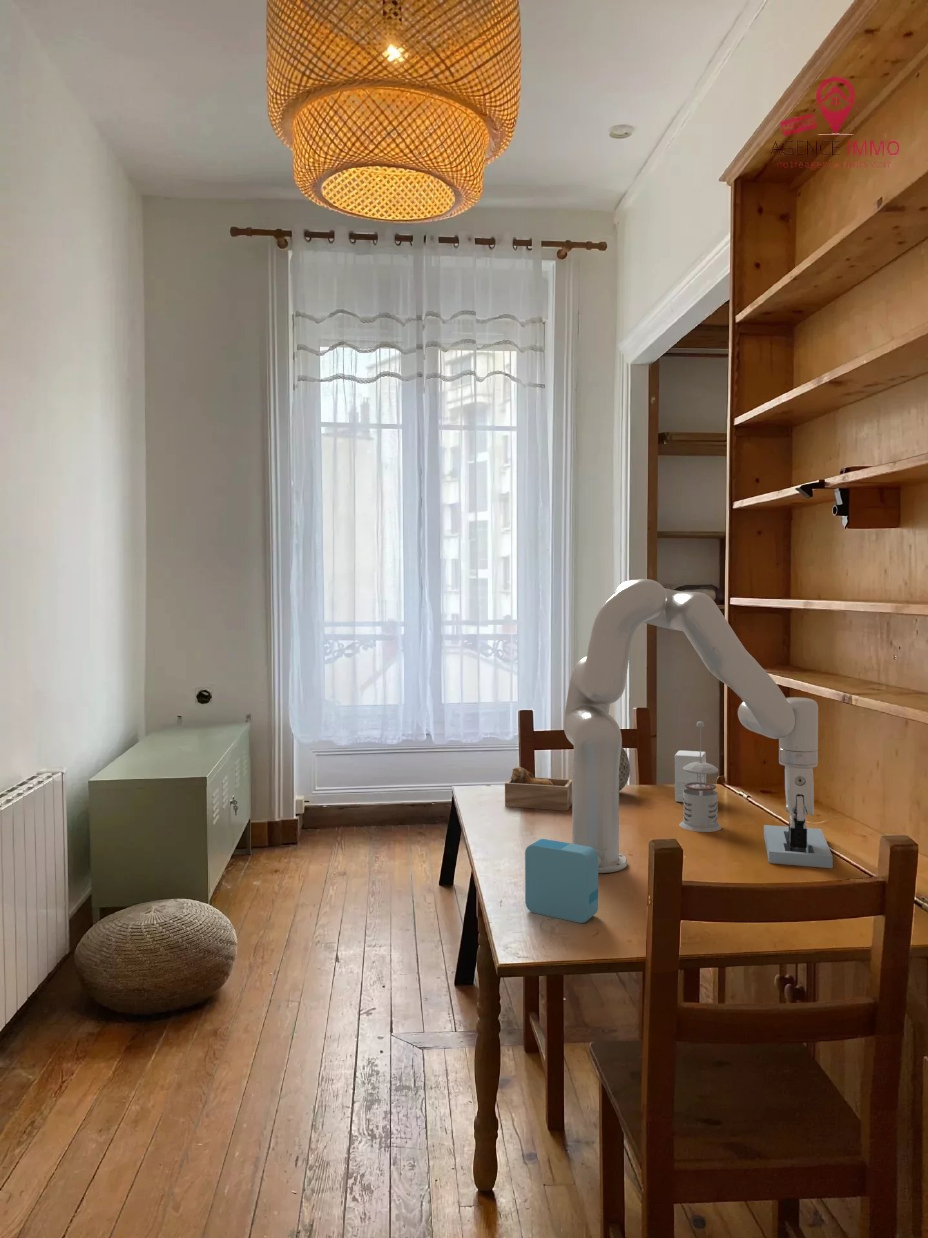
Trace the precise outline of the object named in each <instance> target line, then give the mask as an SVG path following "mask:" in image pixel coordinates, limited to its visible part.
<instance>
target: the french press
mask: <svg viewBox="0 0 928 1238" xmlns="http://www.w3.org/2000/svg"><path fill="white" fill-rule="evenodd" d="M696 727H698V728H699V752H700V761H699V762H693V763H689V764H688V765H686V766H684V767H683V769H684V770H685V771H686V772H689V773H694V774H697V782H694V783H693V782H689V783H686V784H685V786H686V788H688V789H686V790H684V791H683V797H684V798H683V802H682V803H683V805H682V813H683V814H682V817H683V818H682V821H681V822H680V823H679V824H678V825H679V827H680V828H682V829H684V830H687V831H692V832H698V833H699V832H700V833H711V832H718V831H720V830H722V829H723V827H722V825H721V824H720V823H719V821H718V819H719V817H718V815H719V811H718V810H719V809H718V808H719V806H718V805H719V804H718V802H719V801H718V799H719V795H718V791H716V790H715V789H716V788H717V786H716V785H715V784H713V783H709V782H706V783H705V774H706V775H713V774H717V773H718V772H719V769H718V767H716V766H715V765H714V764H711V763H708V762H706V763H705V762H702V761H701V752H702V728H703V727H705V723H704V721H702V720H701V721H697V722H696ZM698 774H700V776H698ZM701 774H704V776H701ZM698 777H700V782H699V783H698ZM701 777H704V782H703V783H701ZM699 791H702V796H699ZM684 800H685V802H684Z"/></svg>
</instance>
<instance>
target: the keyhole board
mask: <svg viewBox="0 0 928 1238" xmlns="http://www.w3.org/2000/svg"><path fill="white" fill-rule="evenodd" d="M806 829H807V848H806V853H805V852H792V851H790V841H789V826H783V825H771V824H770V825H768V824H764V825H763V838H764V843H765V844H764V845H765V849H766V855H767V859H768V864H775V865H776V864H777V865H786V866H787V865H788V866H801V867H815V868H822V869H823V868H825V869H826V868H827V869H833V867H834V866H833V864H834V862H833V861H834V859H833V857H834V856H833V854H832V852H831V849H830V847H829V844H828V842H827V841H826V838H825V837H826V836H825V835H824V833H823V831H822V829H821V828H815V827H814V828H811V827H806Z"/></svg>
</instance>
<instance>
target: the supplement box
mask: <svg viewBox="0 0 928 1238" xmlns="http://www.w3.org/2000/svg"><path fill="white" fill-rule="evenodd" d="M699 761H700V750H699V751H698V750H697V751H696V750H678V751H677V752H676V753H675V754H674V800H675V803H677V802H679V803H683V798H684V797H683V791H684V790H686V789H688V788H686V786H685V784H686V783H689V782H693V783H694V782H697V774H694V773H689V772H686V771H685V770H684V769H683V767H684V766H686V765H688V764H689V763H693V762H699ZM701 761H702V762H705V763H707V753H706V751H701ZM698 776H700V774H698ZM701 776H704V774H701ZM699 782H700V777H698V783H699ZM703 782H704V777H701V783H703ZM705 783H707V774H705ZM699 796H702V791H699ZM684 802H685V800H684Z"/></svg>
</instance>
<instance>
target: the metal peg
mask: <svg viewBox="0 0 928 1238" xmlns="http://www.w3.org/2000/svg"><path fill="white" fill-rule="evenodd" d="M785 812H786V813H789V811H788V807H787V804H786V803H785ZM794 813H797V811H796V810H794ZM807 815H809V814H808V812H807V810H806V816H807ZM795 818H797V817H796V816H795ZM789 822H790V827H792V815H791V814H790V813H789ZM790 851H792V852H805V853H806V848H795V847H791V846H790Z"/></svg>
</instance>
